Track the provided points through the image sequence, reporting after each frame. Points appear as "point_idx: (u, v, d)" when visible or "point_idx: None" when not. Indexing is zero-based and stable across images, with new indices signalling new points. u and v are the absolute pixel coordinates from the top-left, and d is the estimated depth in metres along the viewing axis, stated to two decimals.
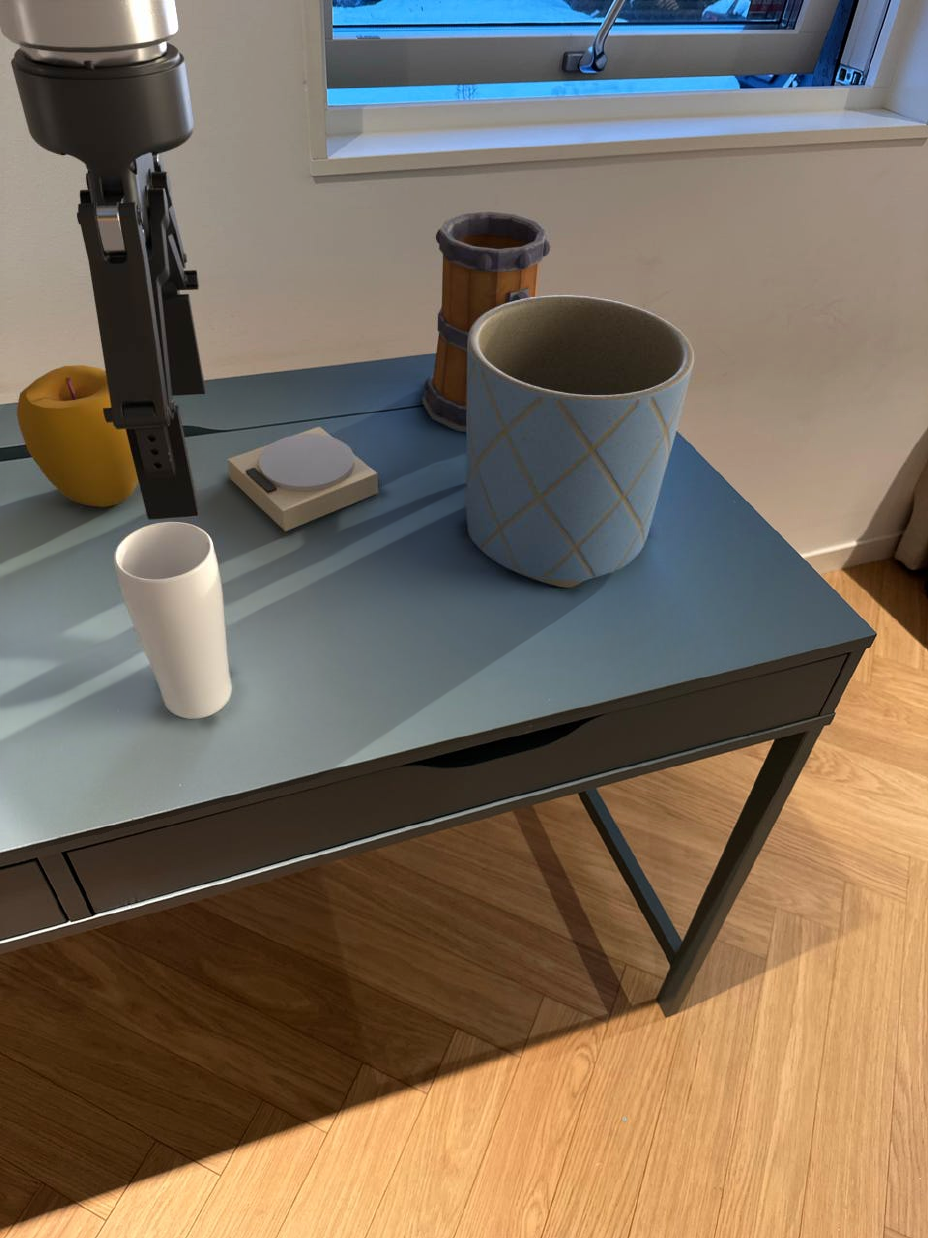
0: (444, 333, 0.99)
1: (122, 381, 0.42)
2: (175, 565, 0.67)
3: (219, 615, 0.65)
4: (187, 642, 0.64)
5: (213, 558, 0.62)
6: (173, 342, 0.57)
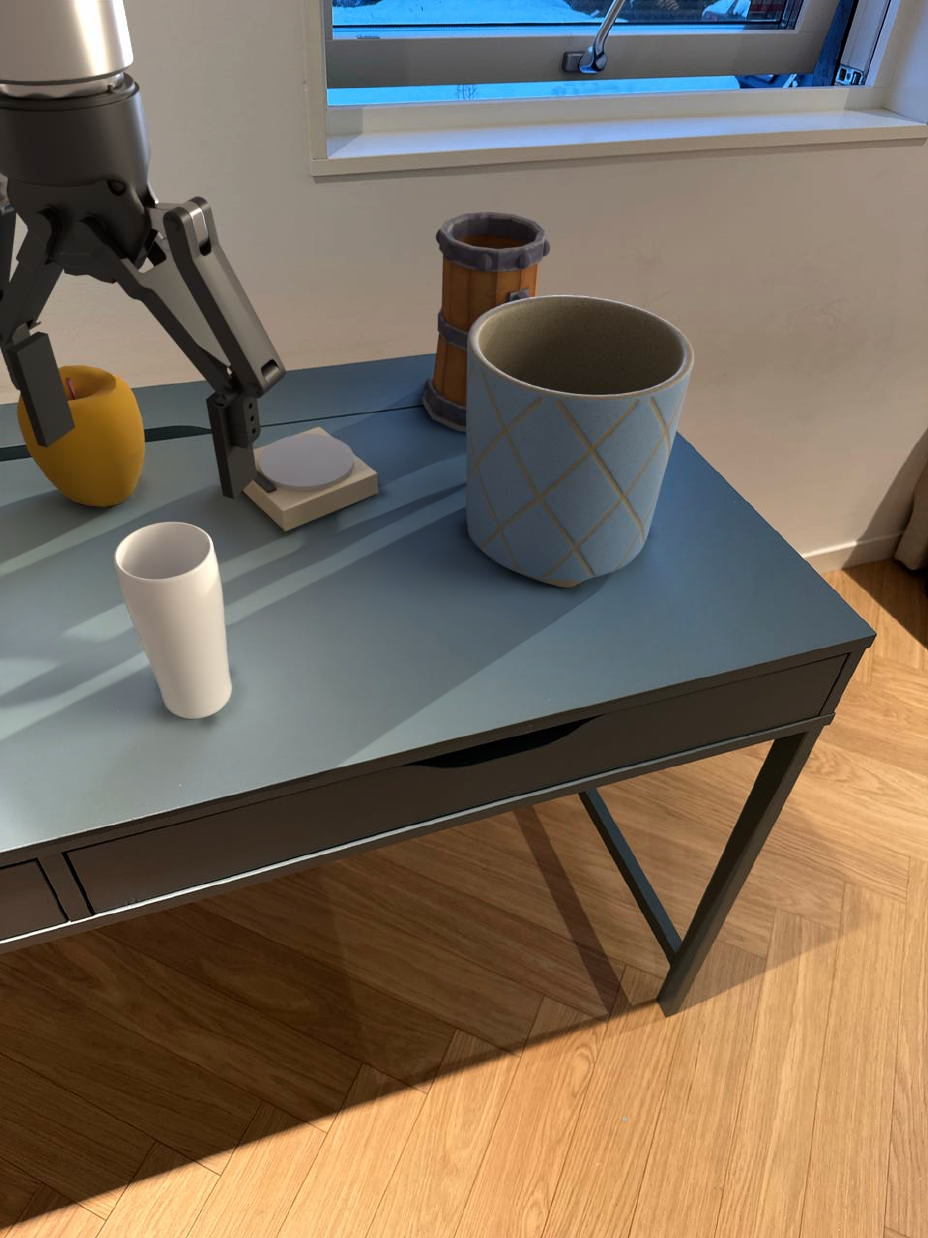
0: (444, 333, 0.99)
1: (253, 352, 0.48)
2: (175, 565, 0.67)
3: (219, 615, 0.65)
4: (187, 642, 0.64)
5: (213, 558, 0.62)
6: (45, 386, 0.56)
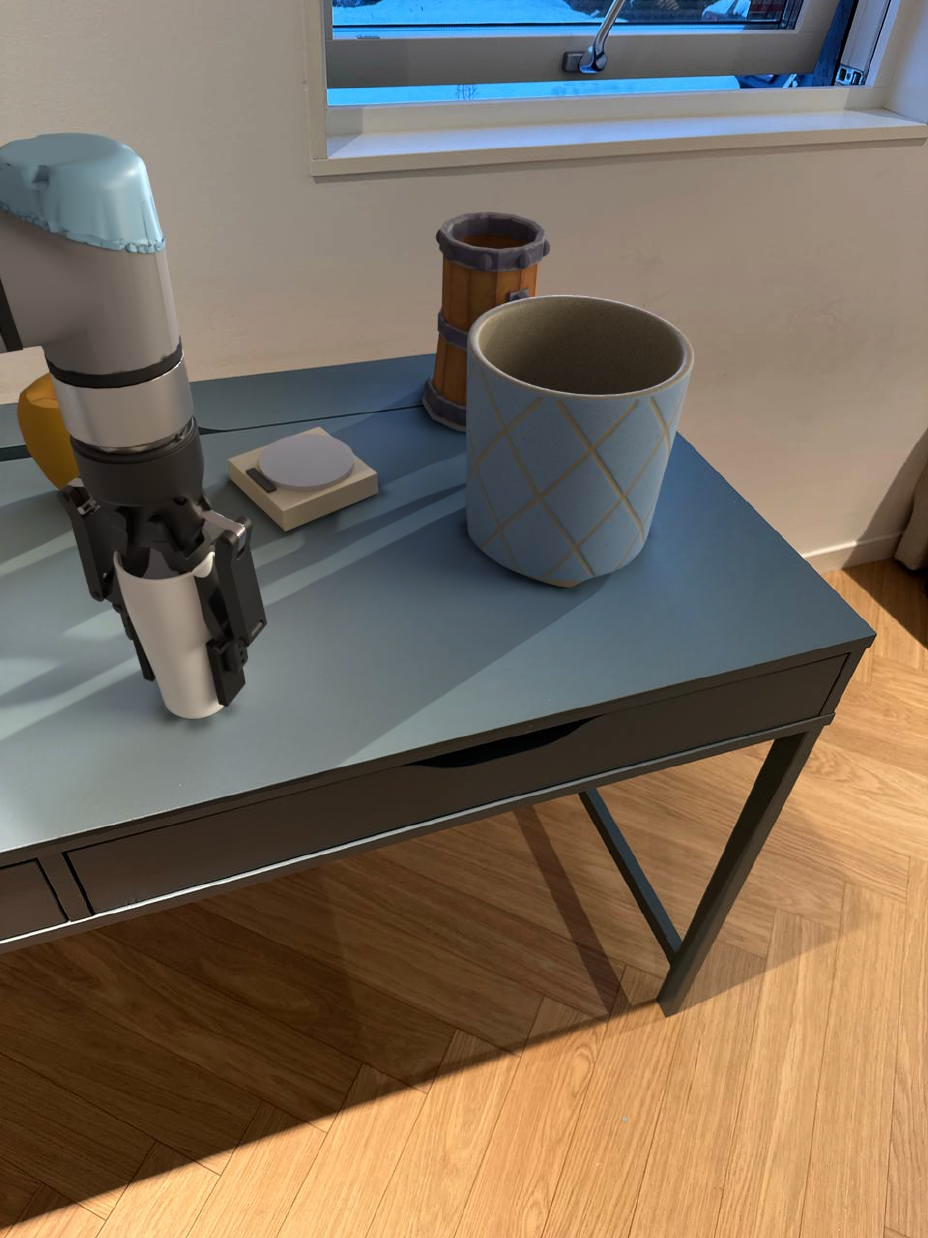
0: (444, 333, 0.99)
1: (250, 620, 0.62)
2: None
3: None
4: (187, 642, 0.64)
5: None
6: None
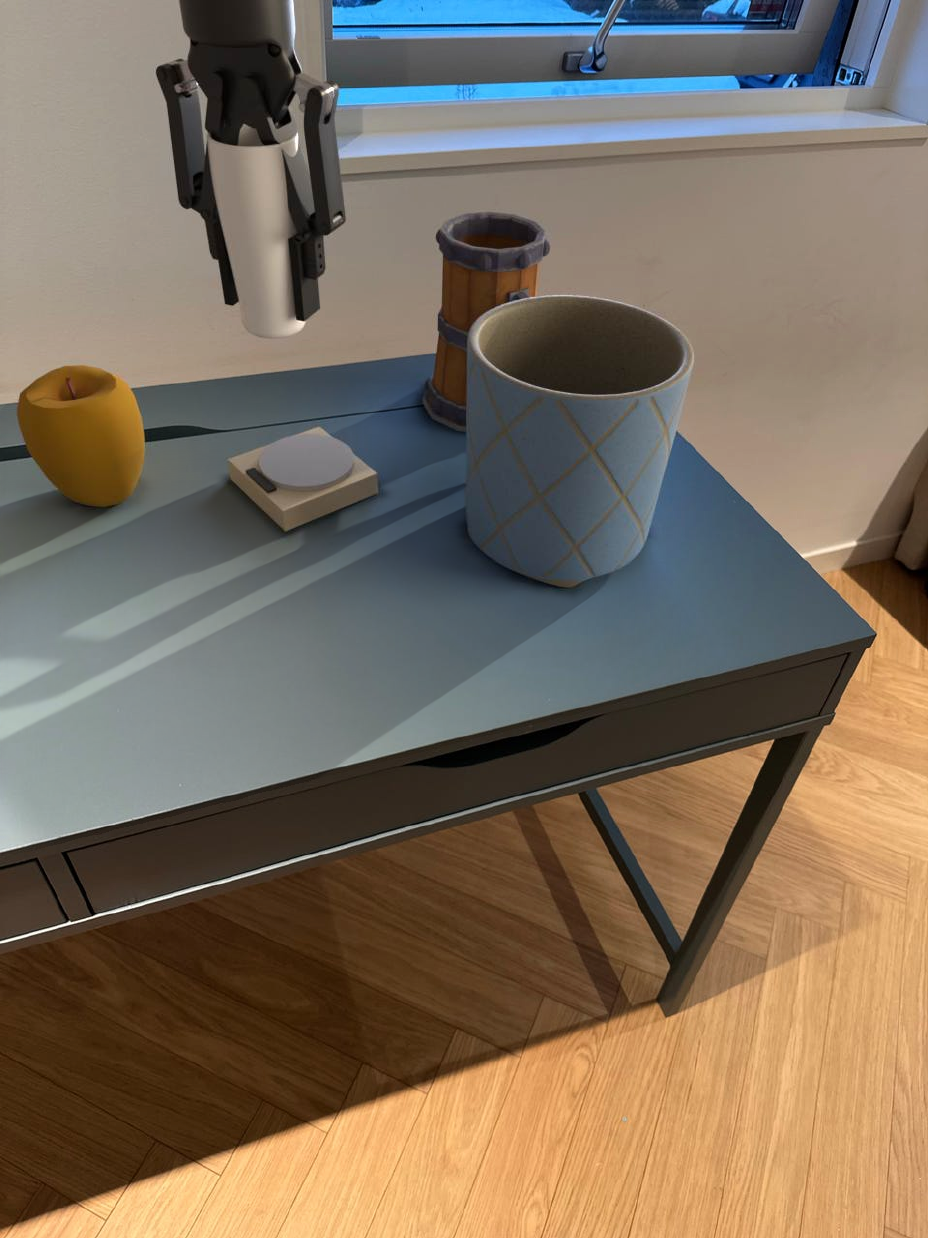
0: (444, 333, 0.99)
1: (332, 202, 0.67)
2: None
3: None
4: (272, 231, 0.68)
5: None
6: None
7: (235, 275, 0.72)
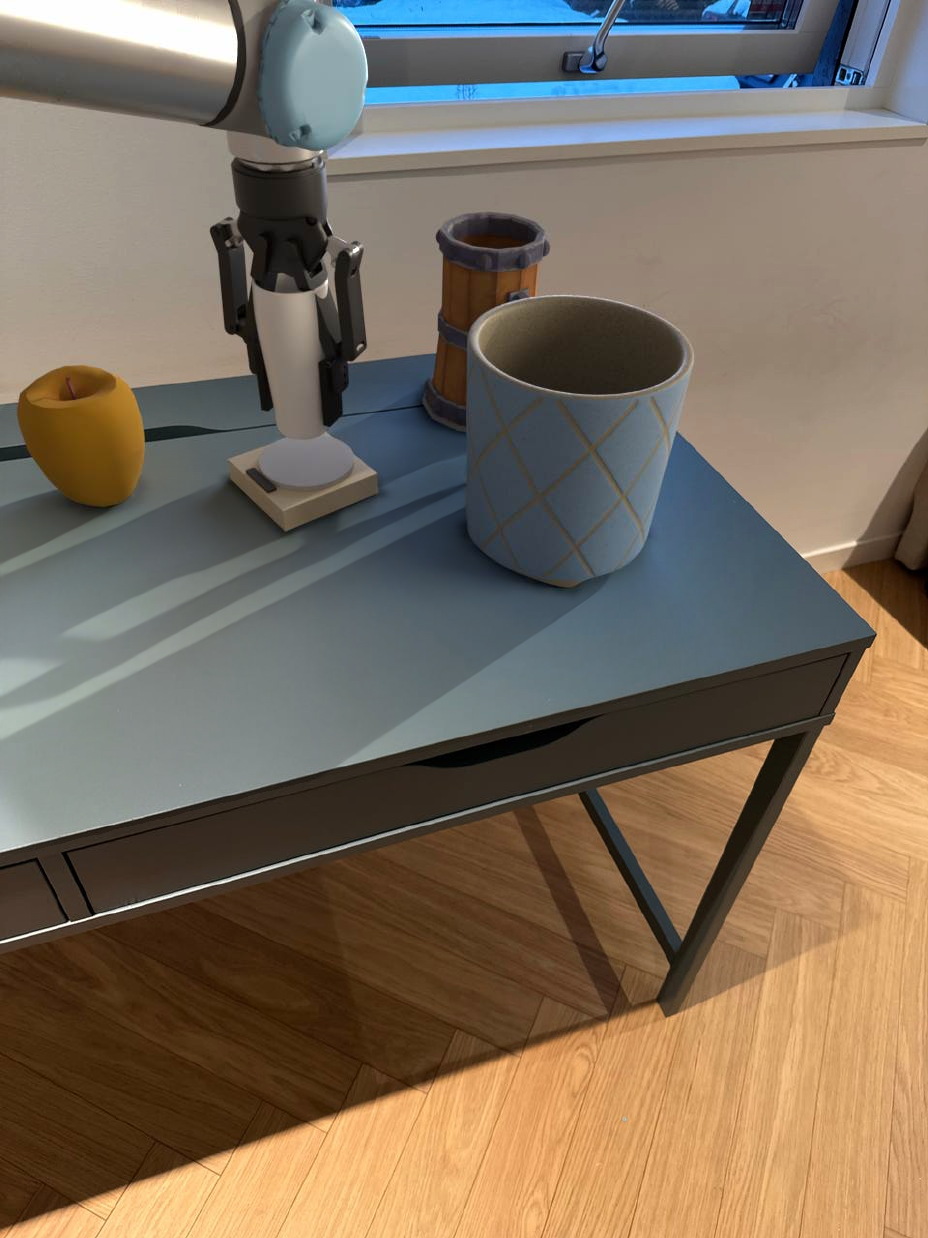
0: (444, 333, 0.99)
1: (356, 335, 0.80)
2: None
3: None
4: (305, 357, 0.81)
5: None
6: None
7: (272, 389, 0.85)
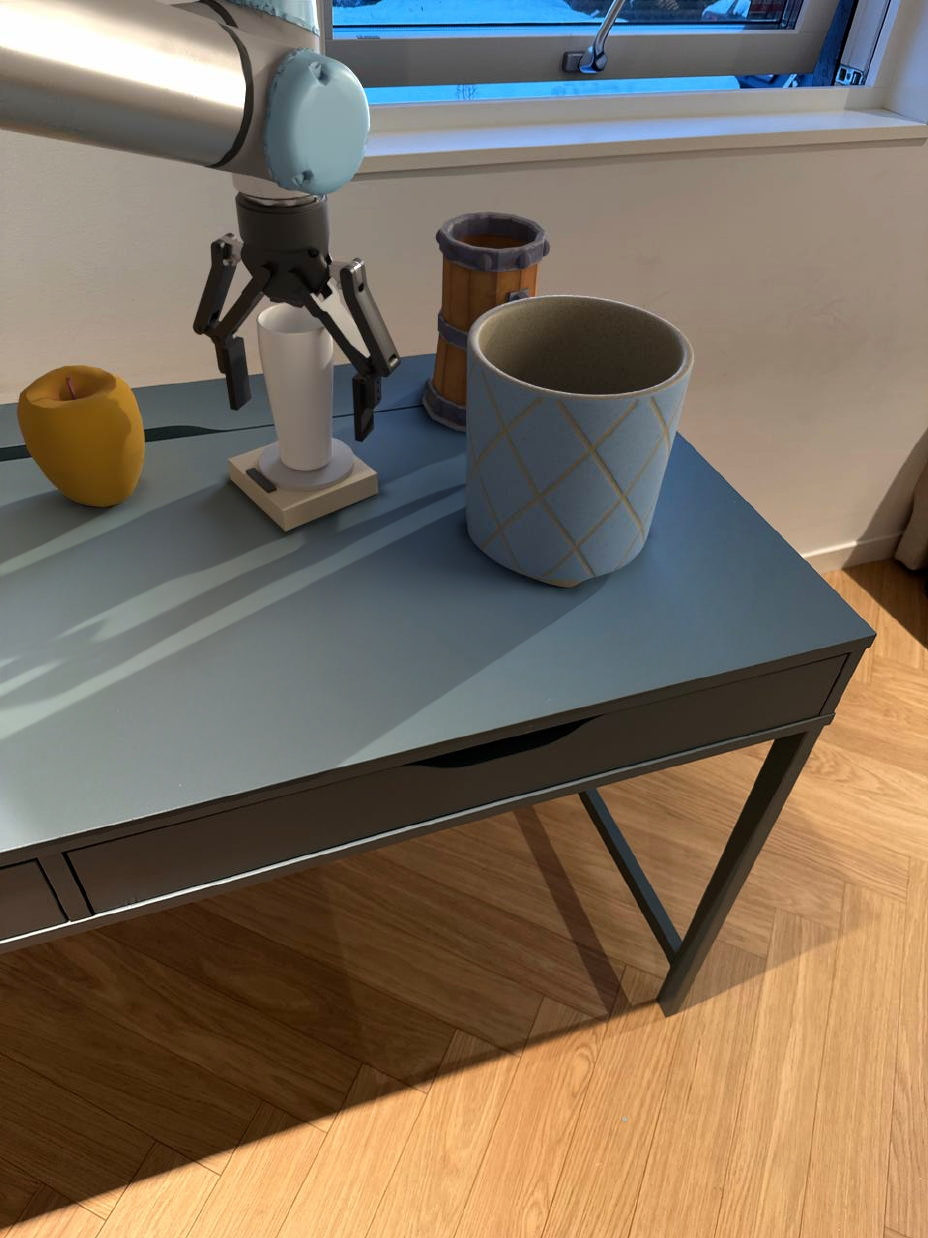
0: (444, 333, 0.99)
1: (384, 349, 0.79)
2: None
3: (331, 376, 0.85)
4: (308, 393, 0.83)
5: None
6: (239, 370, 0.88)
7: (276, 423, 0.87)
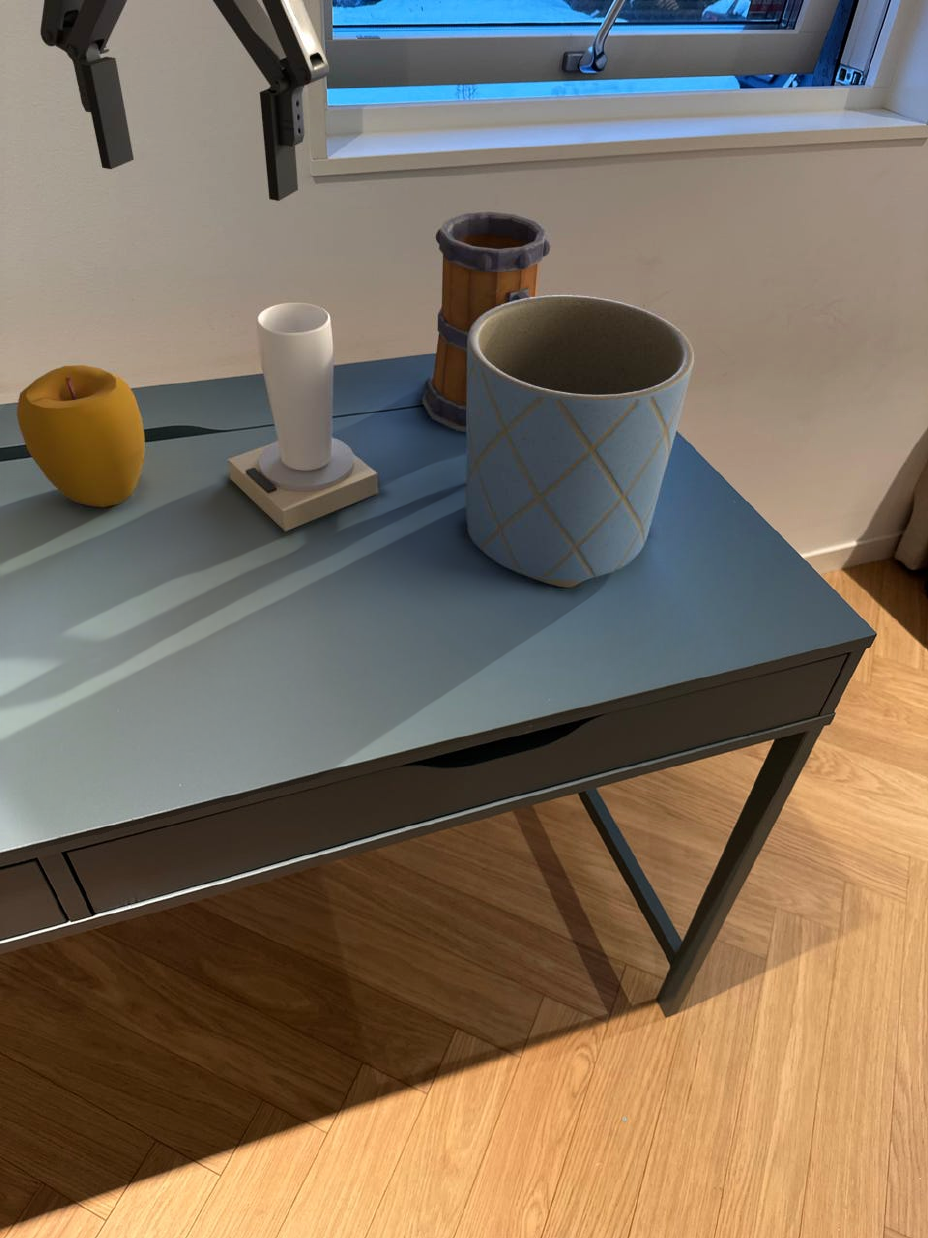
0: (444, 333, 0.99)
1: (303, 39, 0.55)
2: None
3: (331, 376, 0.85)
4: (308, 393, 0.83)
5: (330, 325, 0.82)
6: (111, 107, 0.63)
7: (276, 423, 0.87)
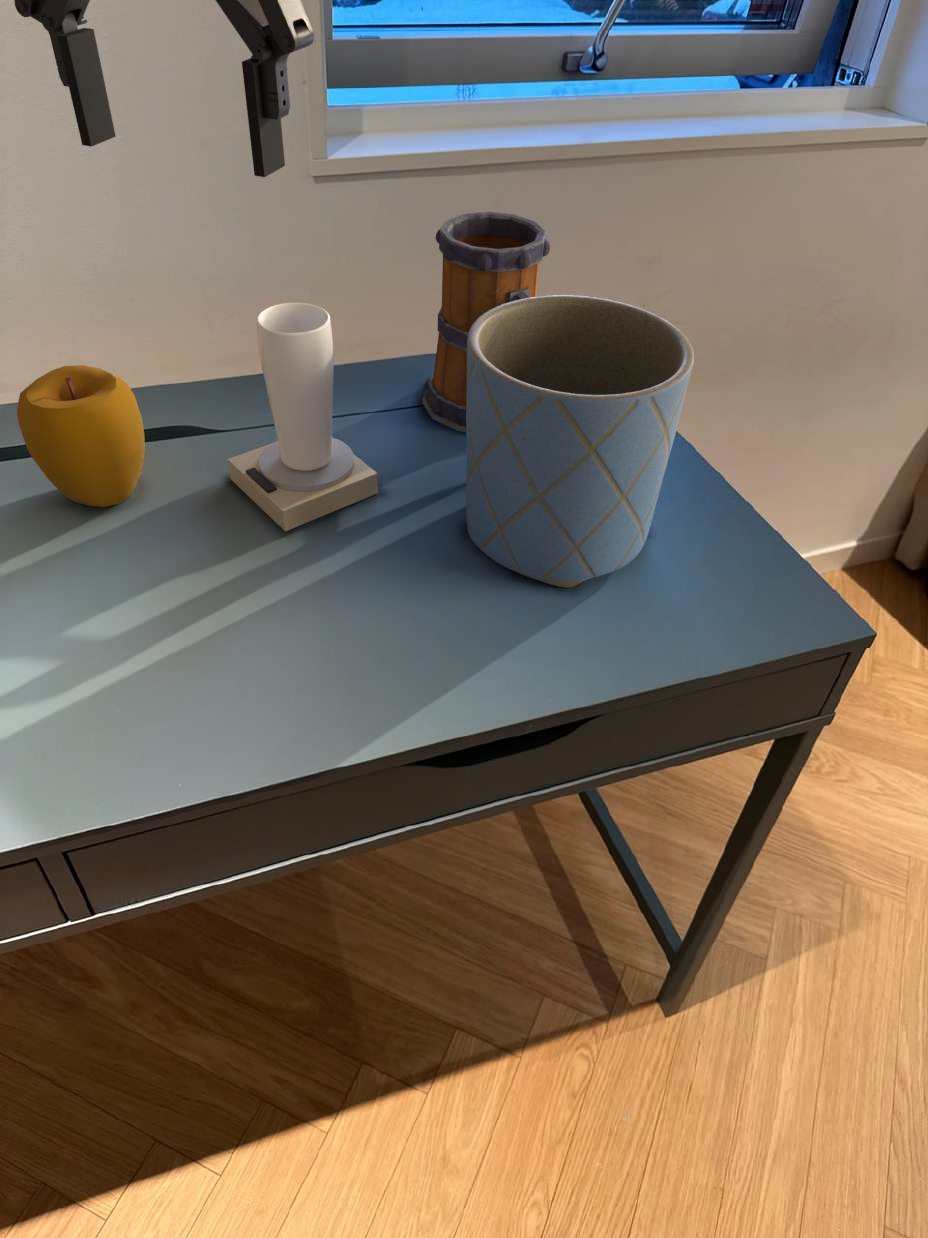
0: (444, 333, 0.99)
1: (286, 4, 0.53)
2: None
3: (331, 376, 0.85)
4: (308, 393, 0.83)
5: (330, 325, 0.82)
6: (90, 81, 0.61)
7: (276, 423, 0.87)
